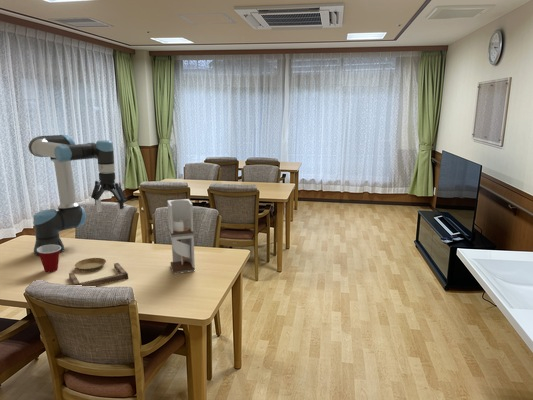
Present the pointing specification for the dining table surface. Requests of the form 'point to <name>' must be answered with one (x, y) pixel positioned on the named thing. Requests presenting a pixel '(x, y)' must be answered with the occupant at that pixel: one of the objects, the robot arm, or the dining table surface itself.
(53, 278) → the dining table surface
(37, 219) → the robot arm
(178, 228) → the display case
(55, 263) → the plastic cup
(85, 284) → the bay
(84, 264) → the plant saucer
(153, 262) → the dining table surface
